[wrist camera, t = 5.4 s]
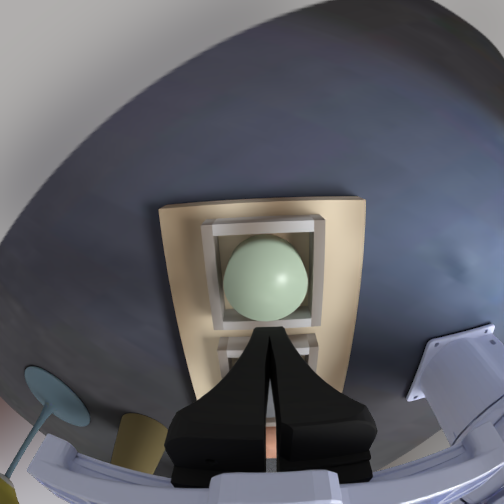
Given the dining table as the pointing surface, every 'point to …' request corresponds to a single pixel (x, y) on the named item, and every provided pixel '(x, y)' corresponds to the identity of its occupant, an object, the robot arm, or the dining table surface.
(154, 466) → the cork
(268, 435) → the terracotta button
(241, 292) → the sage button
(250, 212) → the button board
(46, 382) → the cocktail glass
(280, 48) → the dining table surface
